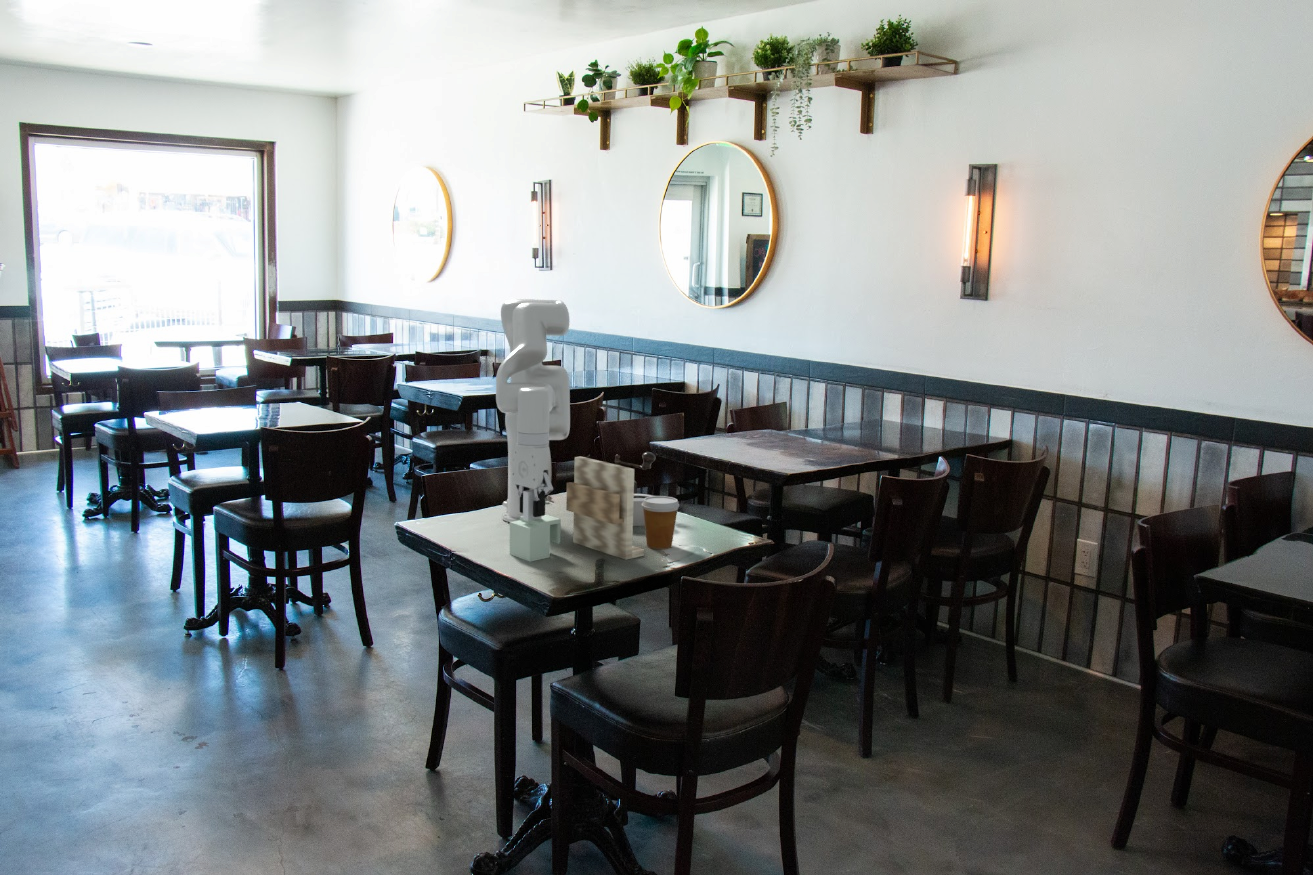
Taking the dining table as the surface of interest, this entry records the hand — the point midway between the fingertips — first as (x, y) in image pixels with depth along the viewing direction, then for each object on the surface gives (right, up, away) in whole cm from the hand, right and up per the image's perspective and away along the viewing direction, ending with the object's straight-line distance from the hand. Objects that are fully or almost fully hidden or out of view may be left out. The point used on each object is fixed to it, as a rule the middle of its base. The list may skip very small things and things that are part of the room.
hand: (532, 513), depth 249 cm
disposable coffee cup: (+31, -9, +13) cm, 35 cm away
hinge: (+24, -6, +34) cm, 42 cm away
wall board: (+16, -10, +8) cm, 21 cm away
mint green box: (0, -10, +2) cm, 11 cm away
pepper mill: (+21, -3, +49) cm, 53 cm away
